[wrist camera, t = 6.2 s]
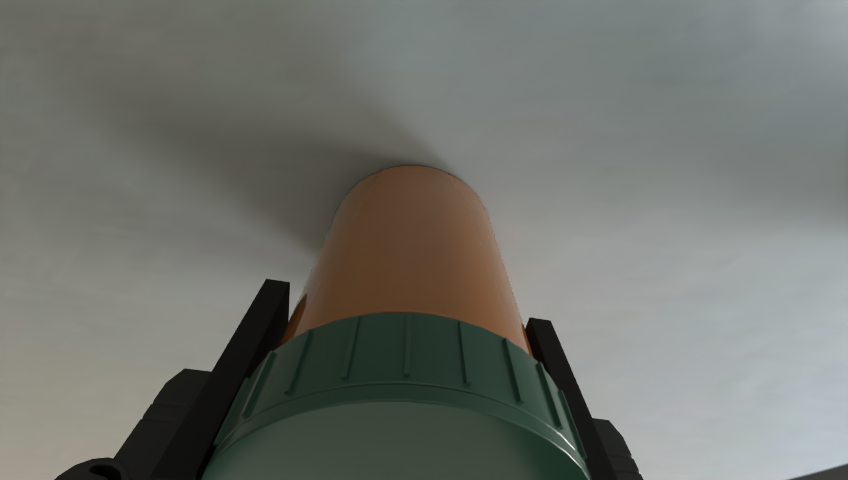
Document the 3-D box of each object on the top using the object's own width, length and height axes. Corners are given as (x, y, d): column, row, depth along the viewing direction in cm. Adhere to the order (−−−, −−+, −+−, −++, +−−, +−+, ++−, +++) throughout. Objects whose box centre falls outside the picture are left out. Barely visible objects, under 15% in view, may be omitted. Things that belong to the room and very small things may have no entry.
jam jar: (340, 150, 18) (215, 355, 7) (511, 181, 18) (630, 410, 8) (327, 292, 21) (232, 567, 11) (470, 313, 22) (513, 591, 11)
